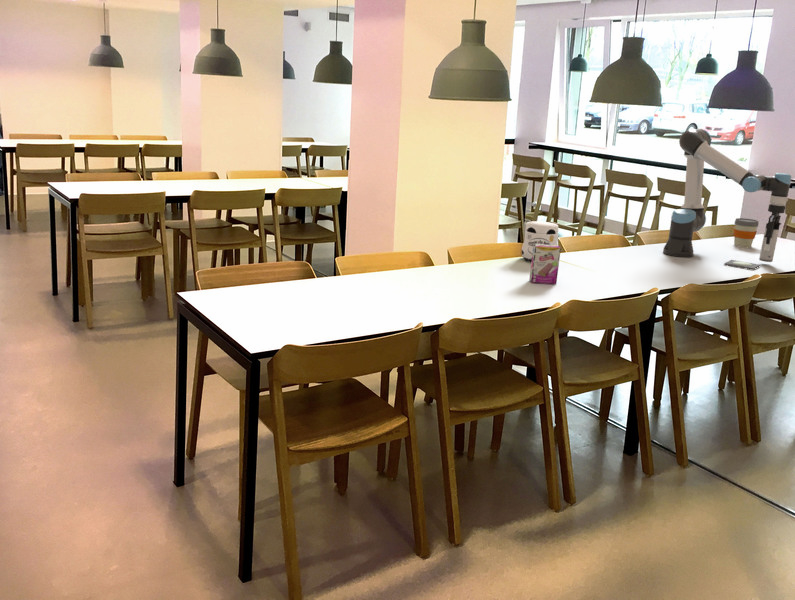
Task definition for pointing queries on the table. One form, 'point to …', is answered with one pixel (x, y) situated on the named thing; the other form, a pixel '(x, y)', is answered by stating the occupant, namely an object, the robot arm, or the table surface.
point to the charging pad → (741, 264)
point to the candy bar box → (544, 264)
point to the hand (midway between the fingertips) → (768, 249)
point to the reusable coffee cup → (744, 231)
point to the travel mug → (768, 255)
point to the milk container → (538, 236)
